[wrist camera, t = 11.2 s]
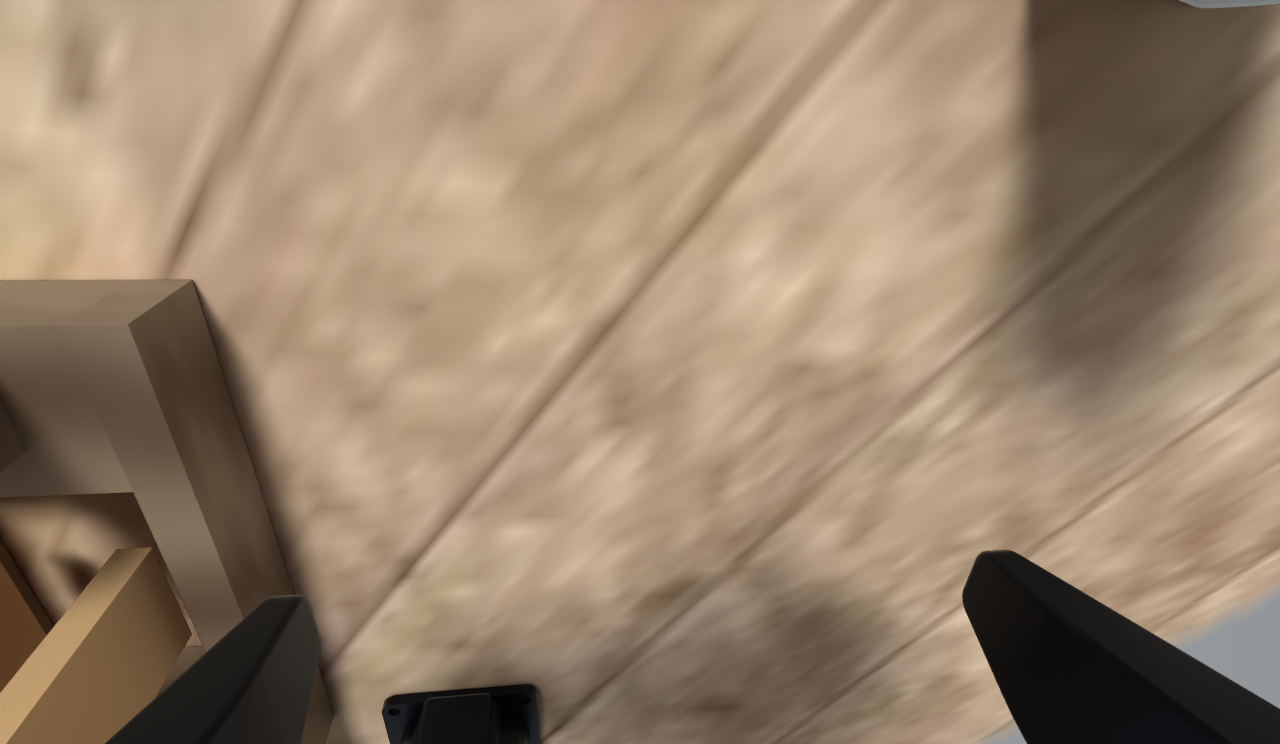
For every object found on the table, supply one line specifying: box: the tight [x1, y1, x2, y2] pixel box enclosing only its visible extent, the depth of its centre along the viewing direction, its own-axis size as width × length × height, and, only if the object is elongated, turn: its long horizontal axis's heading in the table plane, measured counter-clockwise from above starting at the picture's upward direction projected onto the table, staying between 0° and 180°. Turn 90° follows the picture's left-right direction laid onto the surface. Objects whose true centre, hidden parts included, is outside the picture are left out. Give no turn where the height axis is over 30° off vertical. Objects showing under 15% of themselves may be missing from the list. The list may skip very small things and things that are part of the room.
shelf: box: [0, 280, 334, 744], centre depth 18 cm, size 20×10×8 cm, turn 178°
